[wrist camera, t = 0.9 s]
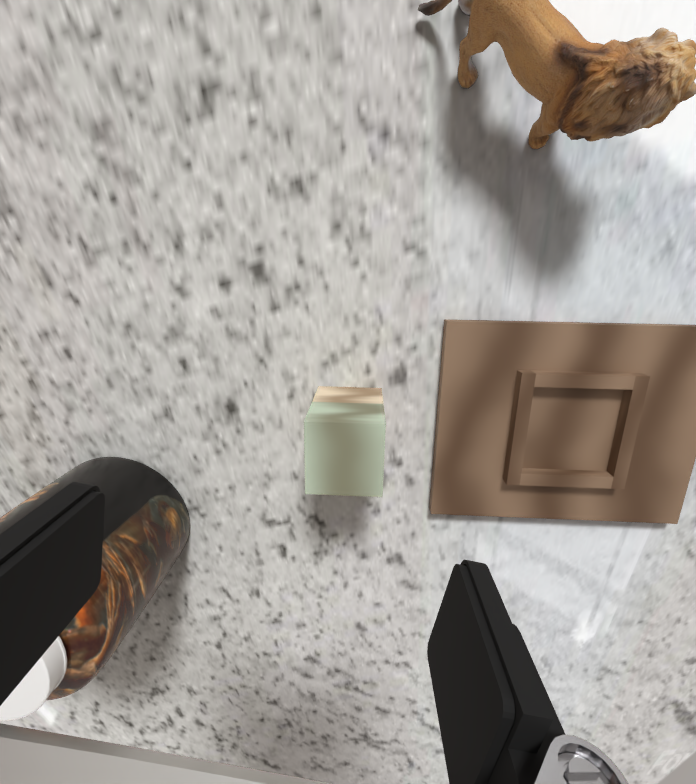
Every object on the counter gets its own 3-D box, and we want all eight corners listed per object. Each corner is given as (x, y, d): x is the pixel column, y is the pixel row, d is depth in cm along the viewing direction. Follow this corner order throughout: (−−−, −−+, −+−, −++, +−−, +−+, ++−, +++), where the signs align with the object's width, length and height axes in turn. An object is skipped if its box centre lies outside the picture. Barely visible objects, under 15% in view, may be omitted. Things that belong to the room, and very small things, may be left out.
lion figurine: (631, 105, 27) (756, 27, 18) (577, 184, 28) (669, 146, 20) (440, -31, 25) (477, -187, 17) (393, 59, 27) (405, -41, 18)
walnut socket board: (720, 325, 30) (744, 329, 28) (668, 516, 35) (686, 531, 33) (444, 319, 31) (449, 322, 29) (429, 507, 36) (432, 520, 34)
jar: (169, 446, 35) (31, 568, 21) (204, 561, 38) (107, 736, 24) (41, 464, 36) (-173, 592, 22) (86, 575, 39) (-75, 750, 25)
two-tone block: (381, 388, 33) (385, 424, 25) (379, 446, 34) (382, 497, 27) (318, 386, 33) (303, 421, 25) (318, 444, 35) (304, 494, 27)
